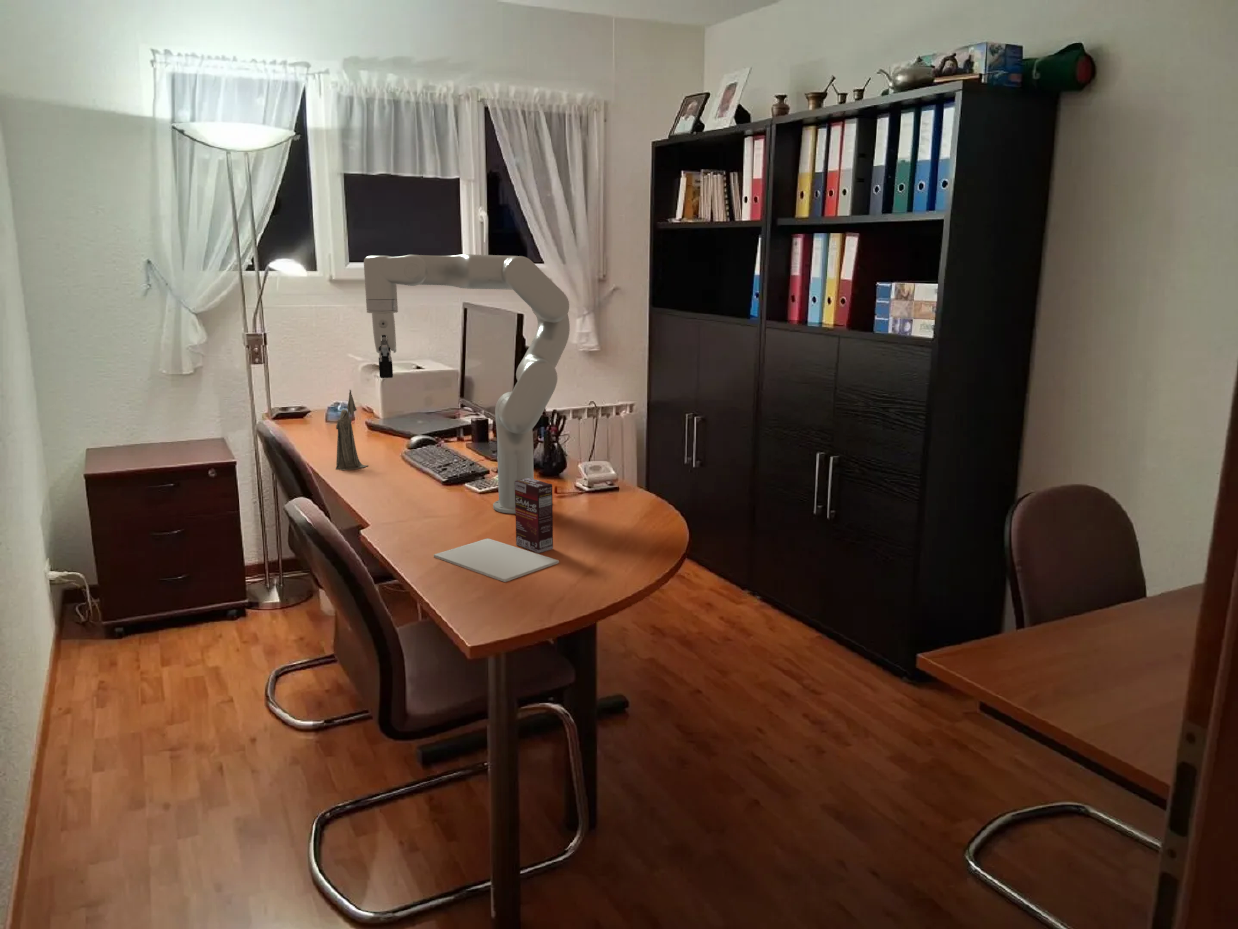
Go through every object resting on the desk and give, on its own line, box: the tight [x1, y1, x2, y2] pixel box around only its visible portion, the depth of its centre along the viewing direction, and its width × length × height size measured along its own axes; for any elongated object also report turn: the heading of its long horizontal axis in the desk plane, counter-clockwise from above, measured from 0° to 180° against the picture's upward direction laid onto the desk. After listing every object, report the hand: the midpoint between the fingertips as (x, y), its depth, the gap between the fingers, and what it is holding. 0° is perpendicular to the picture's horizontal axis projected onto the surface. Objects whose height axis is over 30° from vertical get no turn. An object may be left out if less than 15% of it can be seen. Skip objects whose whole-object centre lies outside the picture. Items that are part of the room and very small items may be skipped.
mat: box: [433, 537, 560, 583], centre depth 202 cm, size 16×24×1 cm, turn 49°
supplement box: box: [515, 478, 554, 554], centre depth 209 cm, size 9×5×16 cm, turn 45°
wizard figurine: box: [335, 389, 368, 471], centre depth 286 cm, size 10×8×25 cm
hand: (386, 375), depth 227 cm, fingers open, 9 cm apart
